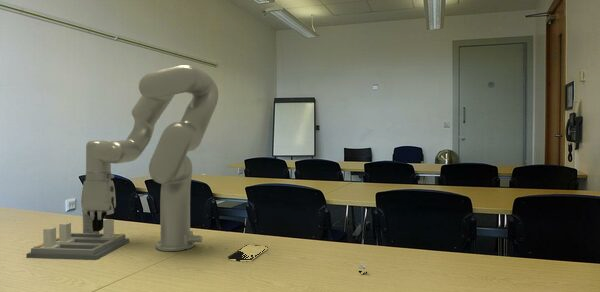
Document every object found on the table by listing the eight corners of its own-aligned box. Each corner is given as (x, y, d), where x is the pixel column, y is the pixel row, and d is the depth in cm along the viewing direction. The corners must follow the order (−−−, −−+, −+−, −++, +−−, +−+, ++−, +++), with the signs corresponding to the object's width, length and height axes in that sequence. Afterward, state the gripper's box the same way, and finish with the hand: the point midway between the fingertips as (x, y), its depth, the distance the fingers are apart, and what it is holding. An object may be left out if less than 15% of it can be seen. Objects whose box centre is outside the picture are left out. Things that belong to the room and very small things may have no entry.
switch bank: (129, 241, 140) (129, 233, 140) (96, 259, 120) (96, 250, 120) (68, 240, 142) (68, 231, 142) (26, 257, 122) (26, 247, 122)
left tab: (60, 249, 127) (60, 227, 126) (53, 252, 123) (52, 229, 123) (47, 248, 127) (46, 226, 127) (39, 252, 123) (39, 229, 123)
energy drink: (102, 233, 151) (102, 202, 151) (93, 237, 146) (93, 204, 145) (88, 233, 151) (88, 201, 151) (79, 237, 146) (79, 204, 146)
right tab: (117, 239, 139) (117, 219, 138) (112, 242, 135) (112, 221, 135) (105, 239, 139) (105, 218, 139) (99, 241, 136) (99, 221, 135)
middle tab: (74, 243, 133) (74, 222, 133) (68, 246, 130) (68, 224, 129) (62, 243, 133) (61, 222, 133) (55, 246, 130) (55, 224, 130)
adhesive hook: (356, 273, 112) (356, 262, 112) (364, 272, 113) (364, 261, 113) (362, 277, 109) (362, 265, 109) (370, 276, 110) (370, 264, 110)
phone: (269, 246, 134) (250, 259, 119) (269, 249, 134) (250, 263, 119) (247, 244, 136) (226, 257, 122) (247, 247, 136) (226, 260, 122)
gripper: (125, 176, 140) (124, 229, 141) (83, 175, 141) (83, 227, 142) (113, 179, 132) (113, 234, 133) (70, 177, 133) (69, 232, 134)
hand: (97, 230), depth 137 cm, fingers closed
